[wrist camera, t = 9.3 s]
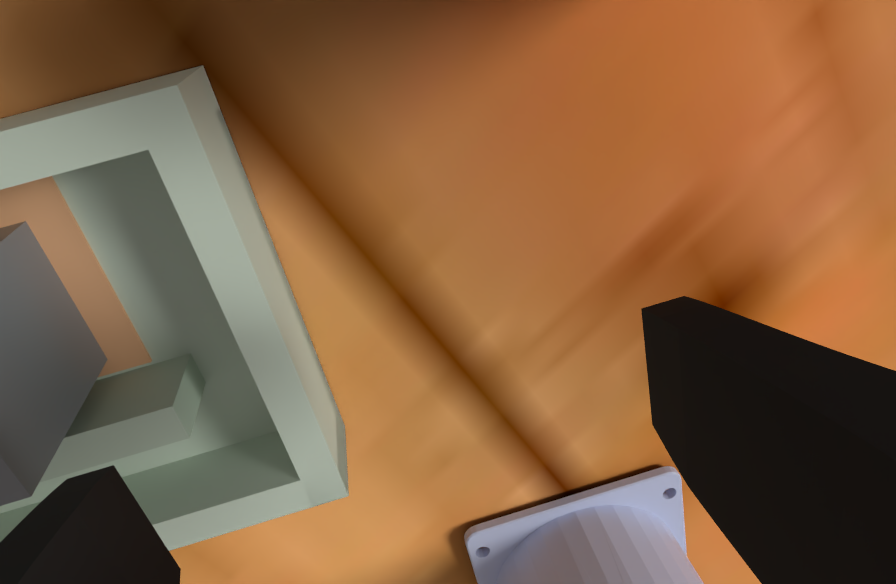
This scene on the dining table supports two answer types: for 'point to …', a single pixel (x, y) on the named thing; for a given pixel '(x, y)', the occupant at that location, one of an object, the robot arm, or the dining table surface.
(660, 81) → the dining table surface
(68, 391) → the grey block with knob
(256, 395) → the grey-green rectangular frame
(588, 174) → the dining table surface
